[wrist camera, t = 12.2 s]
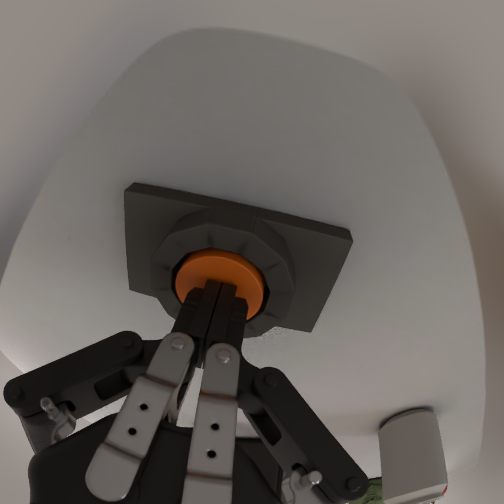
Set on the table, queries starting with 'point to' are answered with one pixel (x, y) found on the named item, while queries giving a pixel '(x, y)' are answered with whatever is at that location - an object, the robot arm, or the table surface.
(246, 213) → the control block
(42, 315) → the table surface
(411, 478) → the can
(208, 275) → the button
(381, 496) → the mug
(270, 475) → the small dark drawer
